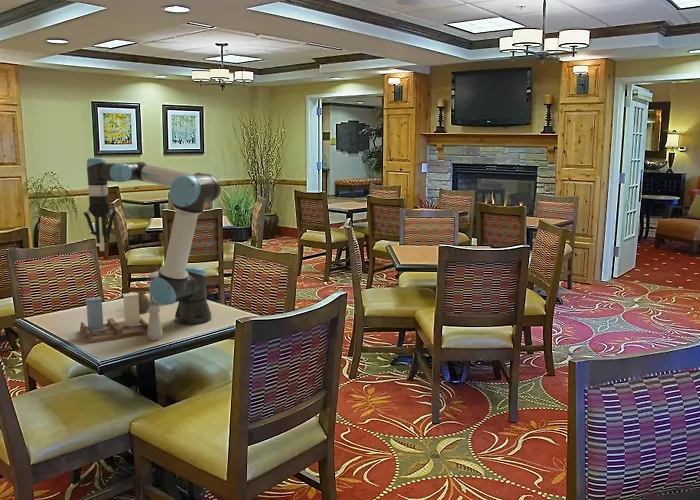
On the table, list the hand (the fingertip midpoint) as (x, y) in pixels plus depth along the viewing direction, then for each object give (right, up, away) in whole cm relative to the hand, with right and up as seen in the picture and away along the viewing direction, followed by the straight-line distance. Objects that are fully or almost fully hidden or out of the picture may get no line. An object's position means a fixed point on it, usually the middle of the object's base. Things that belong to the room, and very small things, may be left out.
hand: (102, 250), depth 265 cm
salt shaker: (+30, -34, -24) cm, 52 cm away
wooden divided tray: (+11, -33, -16) cm, 38 cm away
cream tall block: (+17, -30, -12) cm, 37 cm away
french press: (+15, -25, +29) cm, 41 cm away
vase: (+12, -28, +14) cm, 33 cm away
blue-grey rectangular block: (+5, -31, -19) cm, 37 cm away
